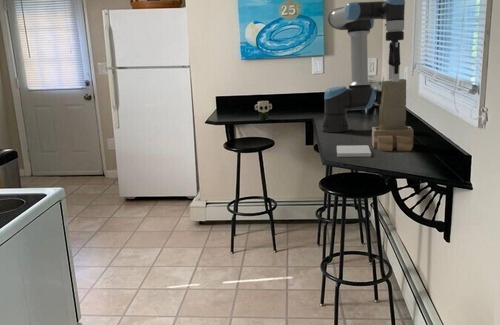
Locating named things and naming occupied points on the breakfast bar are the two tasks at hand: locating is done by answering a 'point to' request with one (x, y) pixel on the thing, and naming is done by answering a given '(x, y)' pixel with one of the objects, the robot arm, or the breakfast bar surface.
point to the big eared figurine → (263, 109)
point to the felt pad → (353, 151)
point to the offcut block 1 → (385, 143)
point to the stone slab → (393, 105)
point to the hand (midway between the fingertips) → (393, 80)
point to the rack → (390, 134)
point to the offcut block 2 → (403, 143)
